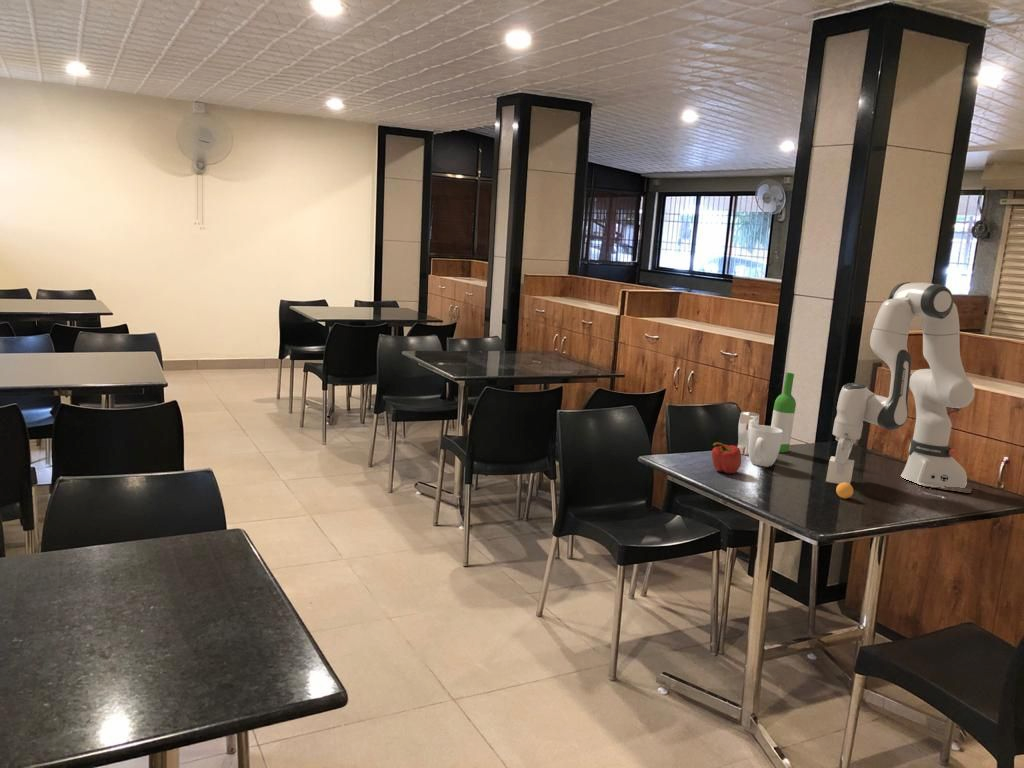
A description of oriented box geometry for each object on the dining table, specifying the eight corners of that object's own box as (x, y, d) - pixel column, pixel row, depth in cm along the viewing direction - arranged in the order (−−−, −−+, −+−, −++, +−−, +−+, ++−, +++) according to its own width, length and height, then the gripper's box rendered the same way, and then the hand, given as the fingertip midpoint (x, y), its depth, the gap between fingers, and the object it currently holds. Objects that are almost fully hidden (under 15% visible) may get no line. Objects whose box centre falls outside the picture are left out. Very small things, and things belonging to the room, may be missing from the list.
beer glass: (756, 456, 300) (762, 416, 297) (737, 454, 300) (743, 414, 297) (750, 451, 307) (756, 412, 304) (732, 449, 307) (738, 410, 304)
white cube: (850, 481, 278) (854, 460, 277) (849, 486, 272) (853, 465, 270) (827, 476, 281) (831, 456, 280) (825, 481, 275) (829, 460, 274)
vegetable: (716, 476, 269) (720, 446, 267) (701, 466, 279) (705, 438, 277) (745, 476, 271) (750, 447, 270) (730, 467, 281) (734, 439, 280)
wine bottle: (792, 453, 310) (805, 375, 304) (774, 453, 308) (787, 374, 302) (780, 447, 317) (792, 371, 312) (763, 447, 315) (775, 370, 309)
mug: (770, 473, 278) (775, 436, 276) (738, 466, 284) (743, 429, 282) (780, 464, 291) (786, 429, 289) (749, 458, 297) (755, 423, 294)
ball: (852, 497, 259) (855, 482, 258) (851, 501, 254) (854, 486, 253) (835, 494, 261) (838, 479, 260) (834, 498, 256) (836, 482, 255)
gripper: (855, 438, 263) (848, 480, 265) (859, 427, 281) (852, 466, 284) (834, 435, 265) (827, 476, 268) (839, 424, 284) (832, 462, 286)
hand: (840, 471), depth 276 cm, fingers closed on white cube, 7 cm apart
